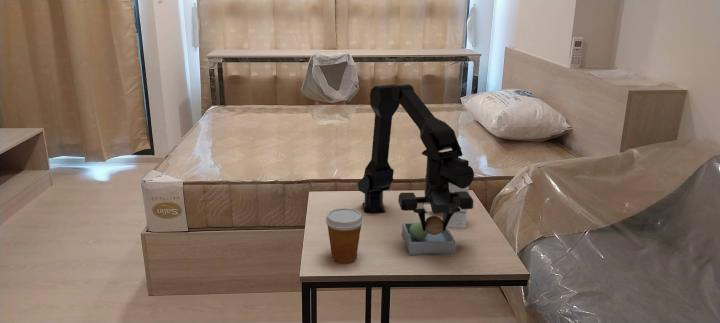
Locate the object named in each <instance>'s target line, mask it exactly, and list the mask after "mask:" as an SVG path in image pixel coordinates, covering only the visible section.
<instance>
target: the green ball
mask: <svg viewBox="0 0 720 323" xmlns="http://www.w3.org/2000/svg"><path fill="white" fill-rule="evenodd" d="M412 223H413V224H412V225H411V227H410V235H411V236H412V238H414V239H416V240H422V239H424V238H425V237H426V236H427V234H428V232H427V231H426V229H425V231H423V228H422V225H421V222H420V221H415V222H412Z"/></svg>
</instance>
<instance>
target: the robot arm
mask: <svg viewBox="0 0 720 323" xmlns="http://www.w3.org/2000/svg"><path fill="white" fill-rule="evenodd" d="M369 99H370V101H369V102H370V103H369V104H370V108H371V109H372V110H373V111H372V112H373V113H374V125H373V136H372V148H371V159H370V161H369V162H368V163H367V165H366V166H365V169H364V174H363V177H362V178H361V179H360V180H359V182H357V186H358V187H357V188H358V191H359V192H361V193H363V194H364V202H362V203H361V204H362V208H363V213H385V212H386V210H385V208H386V207H385V206H384V202H383V201H384V191H389V190H390V188H391V185H392V182H394V172H395V171H394V170H395V169H393V167H391V165H390V163H389V153H390V141H391V134H392V133H391V132H392V122H393V116H394V115H395V113H396V112H397V110H399V107H400V106H401V107H402V108H403V109H404V111H405V112H406V113H407V115H408V117H409V118H410V119H411V120H412V121H413V123H415V125H416V126H417V128H418V130H419V131H420V132H419V134H420V136H419V138H420V141H421V142H422V144H423V146H424V147H425V149H424V150H423V151H421V154H422V155H423V156H425V157H426V170H425V178H424V179H425V186H424V196H416V194H415V193H414V192H400V193H399V195H398V199H397V200H398V205H399V207H400V210H401V211H405V212H406V211H409V212H410V211H413V213H415V214H416V213H417V214H418V215H417V216H418V218H419V222H421V225H422V228H423V231H425V221H426V213H427V212H426V210H425V209H426V208H425V205H430V208H431V212H432V213H433V214H435V215H438V214H442V218H441V219H442V221H443V225H444V226H443V231H444V230H445V229H446V227H448V226H447V224H448V222H449V220H450V218H451V217H452V215H453V214H454V213H456V212H459V211H460V208H461V209H467V210H472V209H474V199H473V197H472V196H471V195H470V193H469V191H468V192H467V191H463V192H454V193H452V192H450V191H449V183H451V184H453V185H455V186H457V187H459V188H466V187H468V186H469V187H470V186H471V184H472V182H473V181H474V177H475V172H474V169H473V167H472V166H470V164H469V163H470V160H469V159H463V158H461V157H463V151H462V148H461V146H460V143H459V141H458V138H457V136H456V133H455V130H454V129H453V128H452V127H451V126H450V125H449V124H447V122H445V121H443V120H440V119H438V118H437V117H435V115H434V114H433V113H432V112H431V110H429V108H428V106H427V105H426V104H425V103H424V102H423V101H422V99H421V98H420V97H419V96H418V95H417V93H416V92H415V89H414V86H413V85H411V84H410V83H409V84H408V83H407V84H397V85H396V84H394V83H391V84H390V83H389V84H383V85H381V84H380V85H375V86H373V87H372V88H371V89H370V92H369ZM450 149H451V150H450ZM445 150H446V151H445ZM459 207H460V208H459ZM424 208H425V209H424Z"/></svg>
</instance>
